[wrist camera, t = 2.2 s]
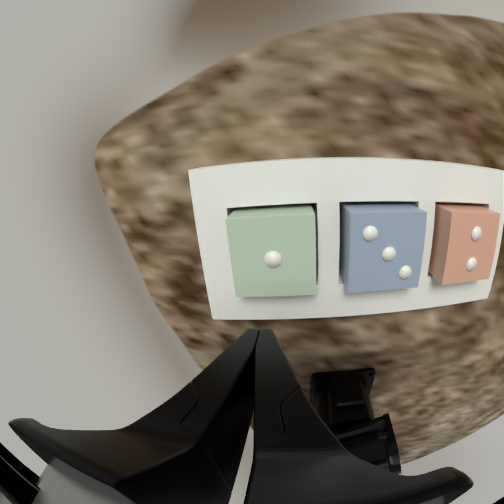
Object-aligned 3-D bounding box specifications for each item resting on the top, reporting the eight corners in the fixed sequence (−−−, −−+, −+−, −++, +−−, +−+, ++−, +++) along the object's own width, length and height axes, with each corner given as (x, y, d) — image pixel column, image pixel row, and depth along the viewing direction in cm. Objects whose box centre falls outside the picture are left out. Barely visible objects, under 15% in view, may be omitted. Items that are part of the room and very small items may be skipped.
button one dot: (312, 273, 19) (316, 295, 16) (243, 276, 20) (235, 298, 17) (310, 204, 17) (315, 215, 14) (235, 208, 18) (224, 219, 15)
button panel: (474, 285, 19) (487, 298, 16) (220, 302, 22) (212, 319, 20) (489, 167, 15) (507, 171, 13) (200, 167, 19) (188, 169, 16)
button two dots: (470, 263, 17) (489, 279, 14) (424, 267, 18) (442, 285, 15) (478, 204, 15) (501, 214, 12) (430, 202, 16) (452, 212, 13)
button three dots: (402, 268, 18) (418, 288, 15) (339, 272, 19) (347, 293, 16) (407, 202, 16) (427, 212, 13) (340, 202, 17) (350, 213, 14)
